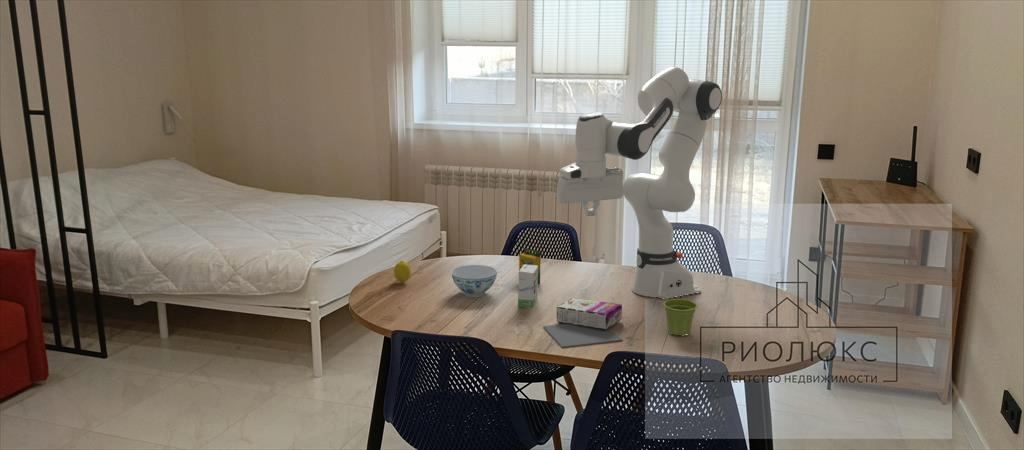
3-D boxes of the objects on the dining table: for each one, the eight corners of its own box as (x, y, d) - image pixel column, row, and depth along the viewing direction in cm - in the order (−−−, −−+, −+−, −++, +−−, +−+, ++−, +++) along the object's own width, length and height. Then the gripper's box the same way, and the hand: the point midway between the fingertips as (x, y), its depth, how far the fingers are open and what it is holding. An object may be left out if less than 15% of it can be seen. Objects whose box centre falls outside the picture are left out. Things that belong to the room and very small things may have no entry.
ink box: (522, 298, 251) (522, 263, 248) (538, 299, 250) (538, 264, 247) (517, 307, 243) (517, 271, 240) (533, 308, 242) (533, 272, 239)
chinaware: (470, 304, 246) (470, 281, 244) (442, 293, 256) (442, 270, 255) (506, 294, 255) (506, 272, 253) (478, 283, 266) (477, 262, 264)
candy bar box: (622, 320, 231) (573, 312, 239) (622, 304, 230) (573, 296, 238) (606, 331, 221) (555, 322, 230) (606, 314, 220) (555, 305, 229)
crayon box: (518, 281, 268) (518, 249, 266) (524, 279, 271) (524, 247, 268) (535, 285, 264) (535, 253, 261) (540, 283, 266) (540, 251, 263)
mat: (600, 321, 232) (600, 319, 231) (622, 340, 217) (622, 339, 217) (543, 327, 227) (543, 326, 226) (562, 347, 212) (562, 346, 212)
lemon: (414, 282, 268) (413, 259, 266) (403, 286, 263) (402, 263, 261) (401, 279, 270) (400, 257, 268) (391, 283, 266) (390, 261, 264)
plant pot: (674, 341, 217) (676, 311, 214) (655, 329, 225) (657, 301, 223) (702, 336, 220) (704, 307, 218) (682, 325, 229) (684, 297, 227)
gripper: (618, 164, 231) (617, 209, 235) (554, 169, 225) (554, 216, 229) (627, 168, 225) (626, 214, 229) (562, 173, 220) (562, 221, 223)
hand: (590, 215), depth 229 cm, fingers closed
